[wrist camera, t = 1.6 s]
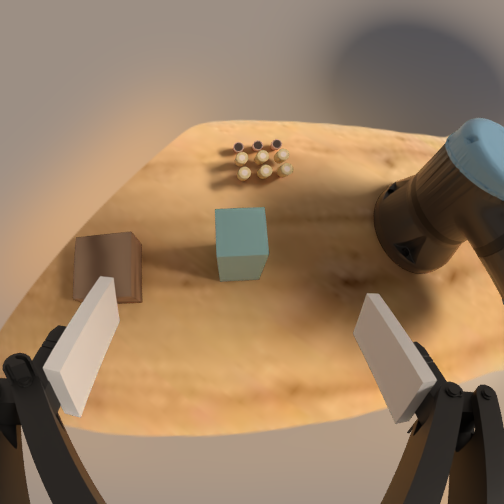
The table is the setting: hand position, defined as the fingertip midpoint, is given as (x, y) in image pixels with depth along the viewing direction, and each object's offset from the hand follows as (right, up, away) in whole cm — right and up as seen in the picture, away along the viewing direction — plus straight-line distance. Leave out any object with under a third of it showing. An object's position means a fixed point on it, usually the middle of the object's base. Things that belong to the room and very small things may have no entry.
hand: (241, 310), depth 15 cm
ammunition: (+2, +15, +30) cm, 34 cm away
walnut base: (-18, 0, +24) cm, 30 cm away
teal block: (-1, +2, +25) cm, 25 cm away
